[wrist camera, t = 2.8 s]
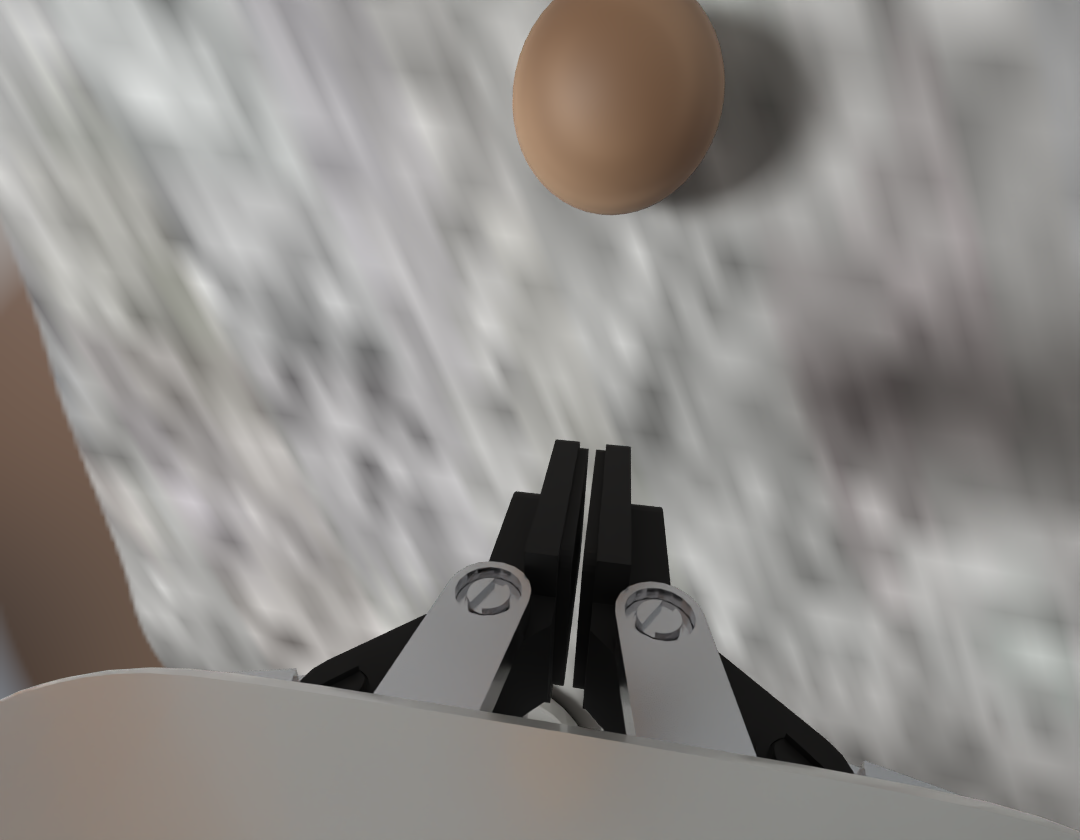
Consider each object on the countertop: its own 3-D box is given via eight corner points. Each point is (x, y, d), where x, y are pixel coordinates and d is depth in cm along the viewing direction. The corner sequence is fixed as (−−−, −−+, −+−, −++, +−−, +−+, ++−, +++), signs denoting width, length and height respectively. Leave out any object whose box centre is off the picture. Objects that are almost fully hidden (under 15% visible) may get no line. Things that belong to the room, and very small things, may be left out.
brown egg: (596, 247, 18) (586, 266, 13) (496, 104, 17) (442, 63, 12) (742, 133, 16) (796, 103, 11) (641, -37, 15) (650, -157, 10)
